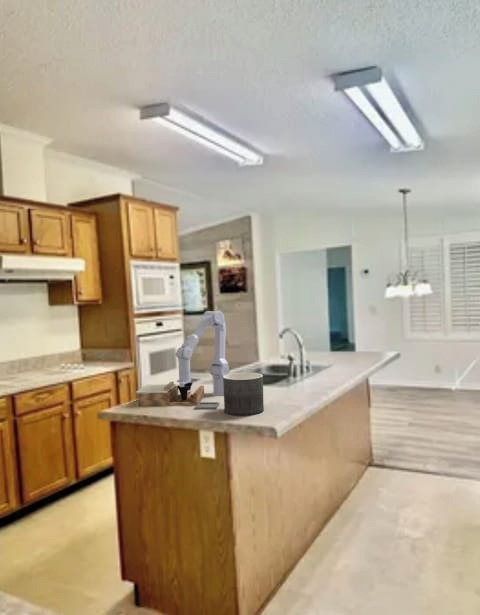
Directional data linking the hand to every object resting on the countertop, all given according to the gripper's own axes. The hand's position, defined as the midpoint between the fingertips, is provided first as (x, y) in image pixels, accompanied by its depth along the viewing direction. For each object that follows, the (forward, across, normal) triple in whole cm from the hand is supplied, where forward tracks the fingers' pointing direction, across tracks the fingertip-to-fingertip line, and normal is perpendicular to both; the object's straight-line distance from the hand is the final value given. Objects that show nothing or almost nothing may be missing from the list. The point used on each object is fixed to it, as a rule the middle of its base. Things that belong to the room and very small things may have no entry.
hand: (185, 398), depth 242 cm
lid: (-5, 0, -15) cm, 15 cm away
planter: (+2, +19, +31) cm, 36 cm away
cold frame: (+1, 0, -7) cm, 7 cm away
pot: (+1, 0, 0) cm, 1 cm away
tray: (+1, +12, +13) cm, 18 cm away
